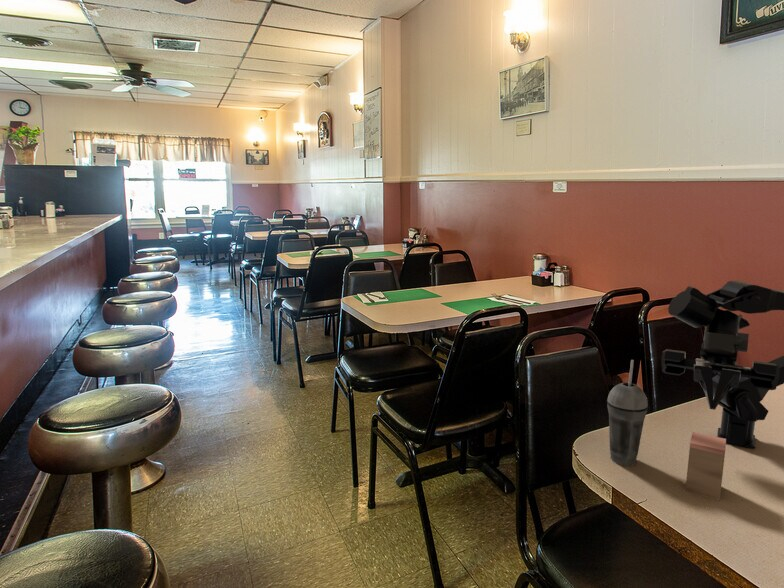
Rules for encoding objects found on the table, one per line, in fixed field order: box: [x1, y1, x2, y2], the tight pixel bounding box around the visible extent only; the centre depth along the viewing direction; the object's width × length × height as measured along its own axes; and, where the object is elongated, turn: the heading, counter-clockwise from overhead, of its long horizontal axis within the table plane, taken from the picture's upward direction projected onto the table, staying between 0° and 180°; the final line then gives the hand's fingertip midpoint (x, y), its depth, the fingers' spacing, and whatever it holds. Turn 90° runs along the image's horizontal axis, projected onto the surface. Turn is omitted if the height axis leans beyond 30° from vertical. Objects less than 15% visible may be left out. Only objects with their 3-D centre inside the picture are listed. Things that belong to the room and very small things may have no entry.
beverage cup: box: [606, 359, 649, 467], centre depth 95 cm, size 7×7×20 cm
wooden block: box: [685, 431, 727, 501], centre depth 86 cm, size 5×5×9 cm
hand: (712, 408), depth 92 cm, fingers closed
